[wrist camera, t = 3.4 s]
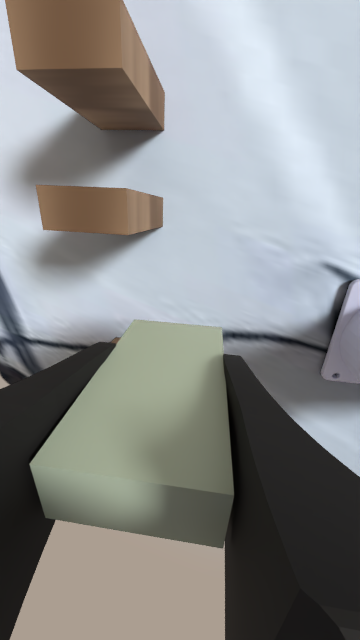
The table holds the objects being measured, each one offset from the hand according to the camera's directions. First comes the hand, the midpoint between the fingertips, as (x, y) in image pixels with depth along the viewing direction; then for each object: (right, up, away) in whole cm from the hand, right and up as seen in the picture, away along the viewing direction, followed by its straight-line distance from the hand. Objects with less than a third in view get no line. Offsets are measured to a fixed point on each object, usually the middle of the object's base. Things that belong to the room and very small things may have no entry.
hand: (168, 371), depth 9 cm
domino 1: (-2, +15, +6) cm, 16 cm away
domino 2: (-3, +9, +8) cm, 13 cm away
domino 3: (0, +1, +2) cm, 2 cm away
